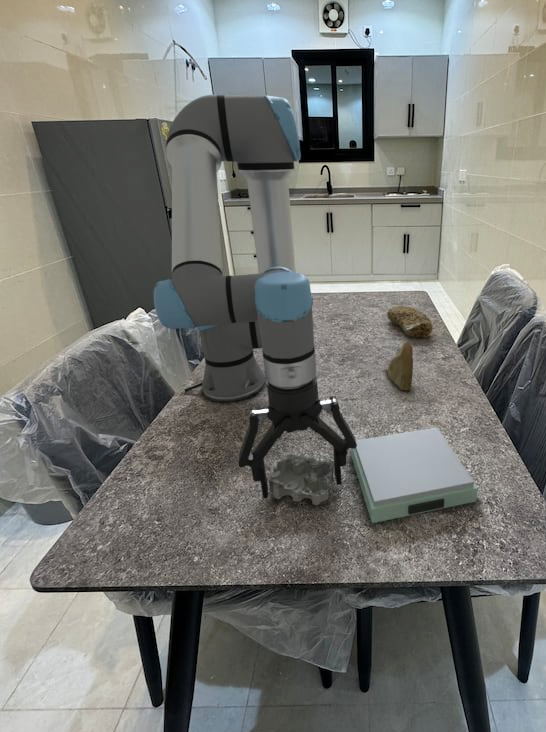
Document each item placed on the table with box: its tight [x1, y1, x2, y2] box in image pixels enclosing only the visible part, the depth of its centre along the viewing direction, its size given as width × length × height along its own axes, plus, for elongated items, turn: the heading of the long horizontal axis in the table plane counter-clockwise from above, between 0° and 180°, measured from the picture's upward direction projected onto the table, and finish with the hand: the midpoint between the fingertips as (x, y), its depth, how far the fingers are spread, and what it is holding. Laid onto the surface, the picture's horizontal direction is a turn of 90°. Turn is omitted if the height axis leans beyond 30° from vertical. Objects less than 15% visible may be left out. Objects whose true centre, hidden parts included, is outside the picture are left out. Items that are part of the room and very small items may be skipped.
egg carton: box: [266, 453, 335, 506], centre depth 66 cm, size 11×8×4 cm
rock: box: [386, 341, 414, 391], centre depth 99 cm, size 11×9×10 cm
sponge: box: [386, 305, 434, 339], centre depth 132 cm, size 13×8×20 cm
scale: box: [350, 426, 479, 524], centre depth 68 cm, size 18×16×4 cm
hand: (302, 485), depth 66 cm, fingers closed on egg carton, 12 cm apart
